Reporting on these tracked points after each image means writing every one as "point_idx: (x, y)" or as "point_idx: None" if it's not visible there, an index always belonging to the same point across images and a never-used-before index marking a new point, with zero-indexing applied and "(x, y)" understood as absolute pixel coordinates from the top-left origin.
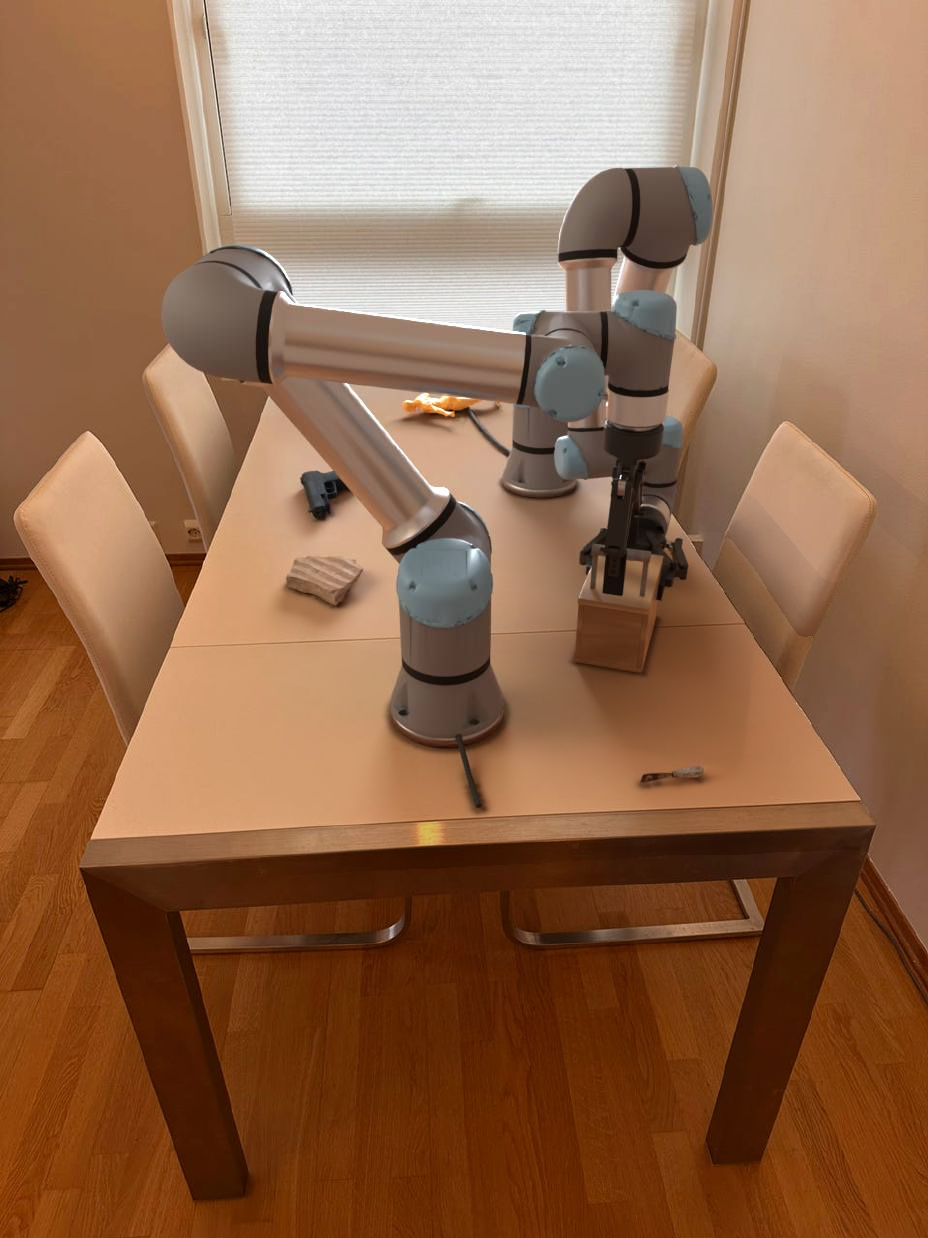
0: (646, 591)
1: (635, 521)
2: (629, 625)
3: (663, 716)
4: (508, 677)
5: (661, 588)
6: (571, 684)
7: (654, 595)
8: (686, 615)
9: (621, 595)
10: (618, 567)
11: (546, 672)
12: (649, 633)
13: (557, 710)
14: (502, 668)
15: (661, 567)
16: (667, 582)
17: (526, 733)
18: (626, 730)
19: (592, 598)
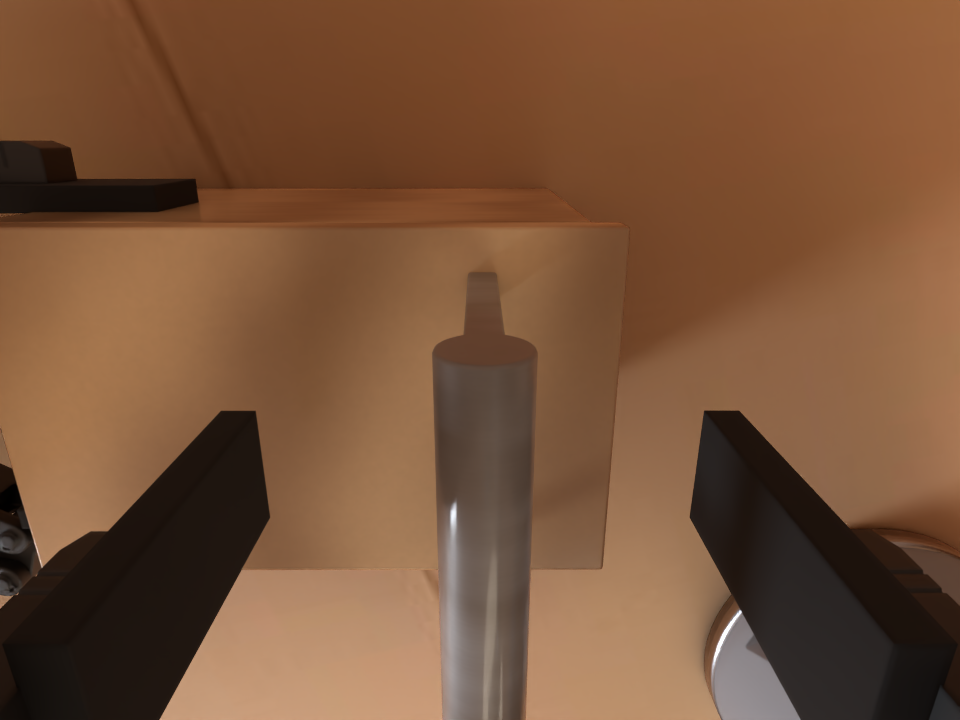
0: (432, 268)
1: (87, 651)
2: None
3: (786, 72)
4: (664, 555)
5: (165, 191)
6: (662, 392)
7: (337, 216)
8: (79, 65)
9: (738, 416)
10: (940, 596)
11: (616, 470)
12: (387, 195)
13: (800, 404)
14: (625, 578)
15: (41, 220)
16: (57, 169)
17: (916, 458)
18: (878, 188)
19: (587, 513)
